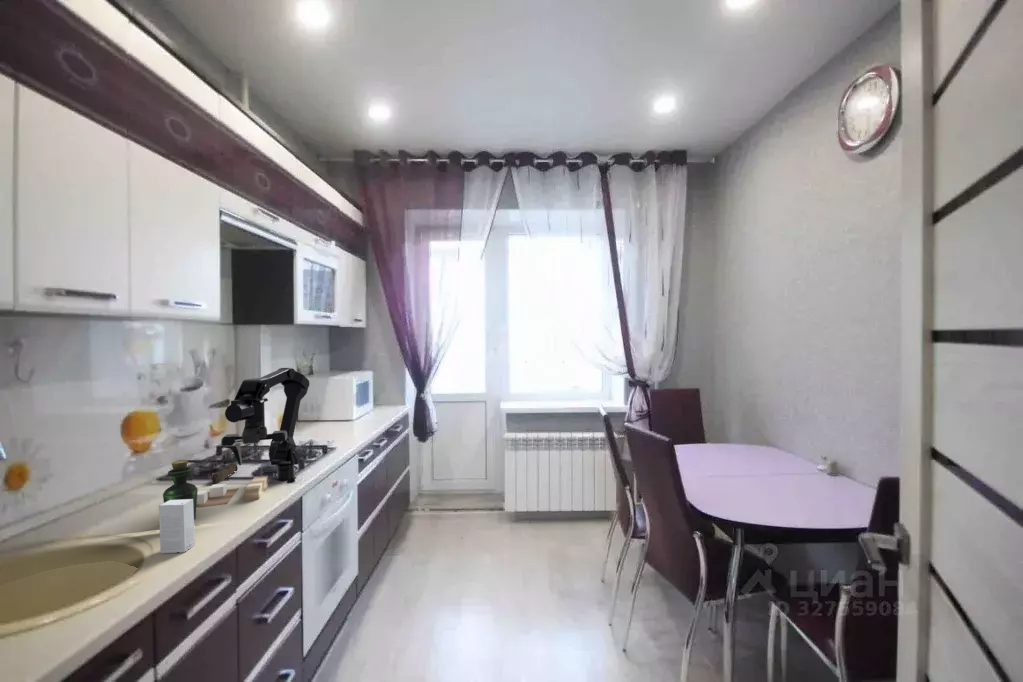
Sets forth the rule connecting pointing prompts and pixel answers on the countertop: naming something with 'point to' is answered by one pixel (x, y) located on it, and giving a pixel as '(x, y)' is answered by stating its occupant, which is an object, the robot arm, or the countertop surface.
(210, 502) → the walnut board
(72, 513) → the countertop surface
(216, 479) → the hand tool
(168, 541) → the skincare box
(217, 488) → the plain white cube
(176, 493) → the potion bottle
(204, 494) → the white square block
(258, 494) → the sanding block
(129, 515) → the countertop surface
